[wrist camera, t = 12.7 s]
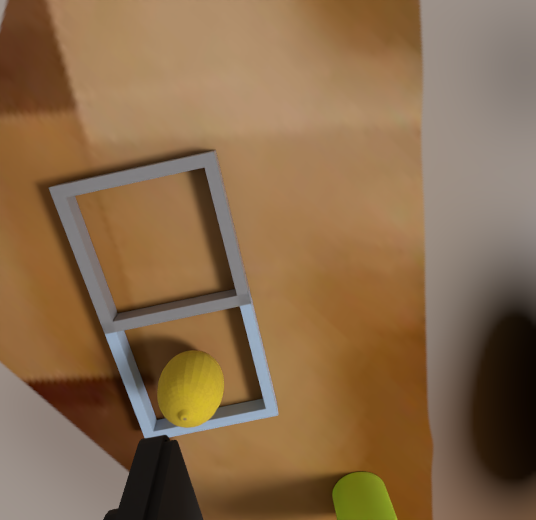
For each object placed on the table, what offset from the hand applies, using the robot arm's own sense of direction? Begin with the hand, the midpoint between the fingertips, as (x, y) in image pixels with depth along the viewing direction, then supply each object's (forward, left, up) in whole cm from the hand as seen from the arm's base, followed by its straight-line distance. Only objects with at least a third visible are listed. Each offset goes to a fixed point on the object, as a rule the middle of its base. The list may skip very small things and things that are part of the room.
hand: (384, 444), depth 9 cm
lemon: (+13, -11, -27) cm, 32 cm away
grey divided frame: (+7, -11, -27) cm, 30 cm away
